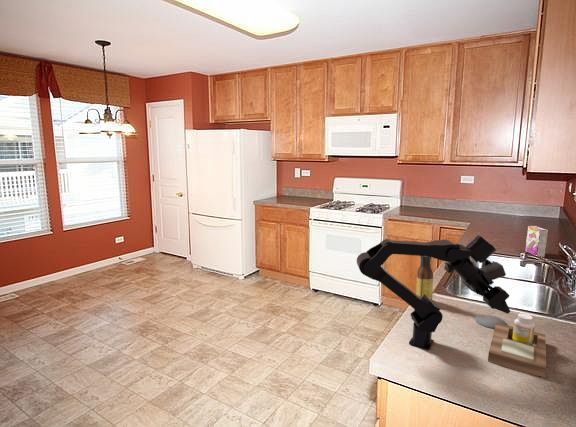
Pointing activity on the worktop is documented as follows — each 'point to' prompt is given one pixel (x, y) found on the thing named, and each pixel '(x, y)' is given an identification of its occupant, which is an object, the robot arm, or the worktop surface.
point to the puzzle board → (518, 351)
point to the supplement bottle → (523, 329)
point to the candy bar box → (536, 240)
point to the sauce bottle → (425, 278)
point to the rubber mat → (489, 321)
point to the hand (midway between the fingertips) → (500, 305)
